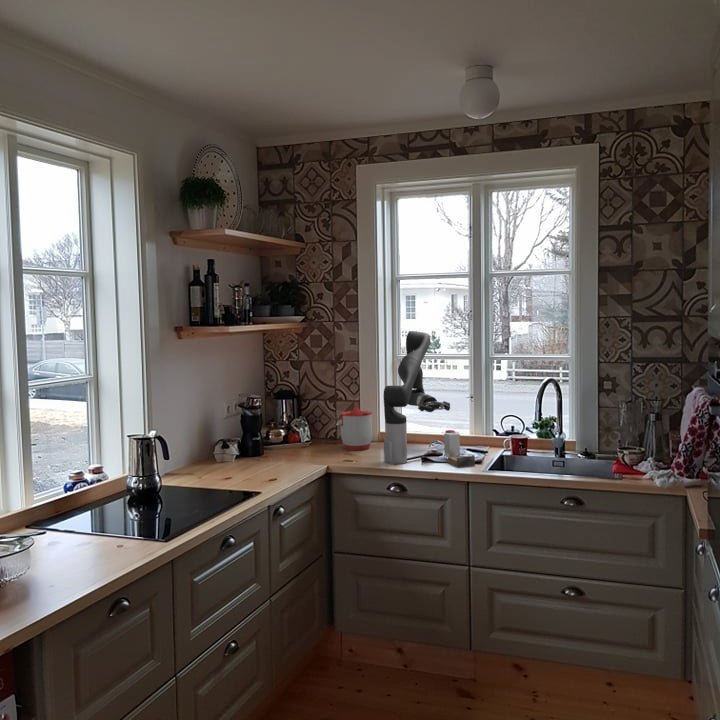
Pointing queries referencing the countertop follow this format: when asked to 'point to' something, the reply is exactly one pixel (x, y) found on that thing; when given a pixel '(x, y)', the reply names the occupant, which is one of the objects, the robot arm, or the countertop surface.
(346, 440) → the citrus juicer
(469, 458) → the walnut cradle
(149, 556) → the countertop surface
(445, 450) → the aluminium block
